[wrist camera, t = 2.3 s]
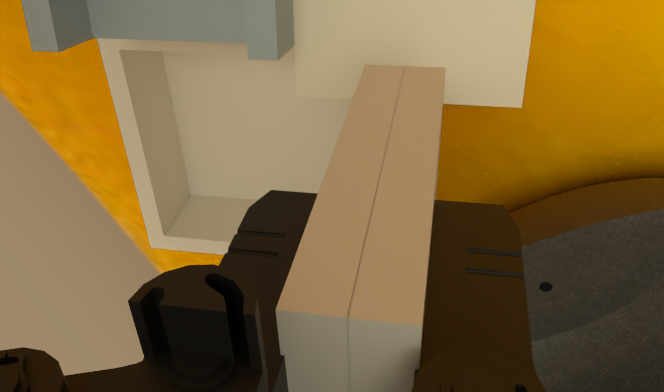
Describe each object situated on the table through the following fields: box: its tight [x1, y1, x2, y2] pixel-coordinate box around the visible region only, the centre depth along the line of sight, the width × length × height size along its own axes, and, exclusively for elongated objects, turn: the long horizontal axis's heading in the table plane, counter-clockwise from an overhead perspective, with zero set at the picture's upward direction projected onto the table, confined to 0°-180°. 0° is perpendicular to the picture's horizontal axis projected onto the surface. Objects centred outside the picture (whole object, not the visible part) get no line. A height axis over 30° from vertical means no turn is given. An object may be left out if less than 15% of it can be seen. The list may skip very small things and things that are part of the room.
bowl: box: [509, 178, 664, 392], centre depth 28 cm, size 12×22×6 cm, turn 131°
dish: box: [97, 38, 352, 255], centre depth 27 cm, size 11×11×4 cm
